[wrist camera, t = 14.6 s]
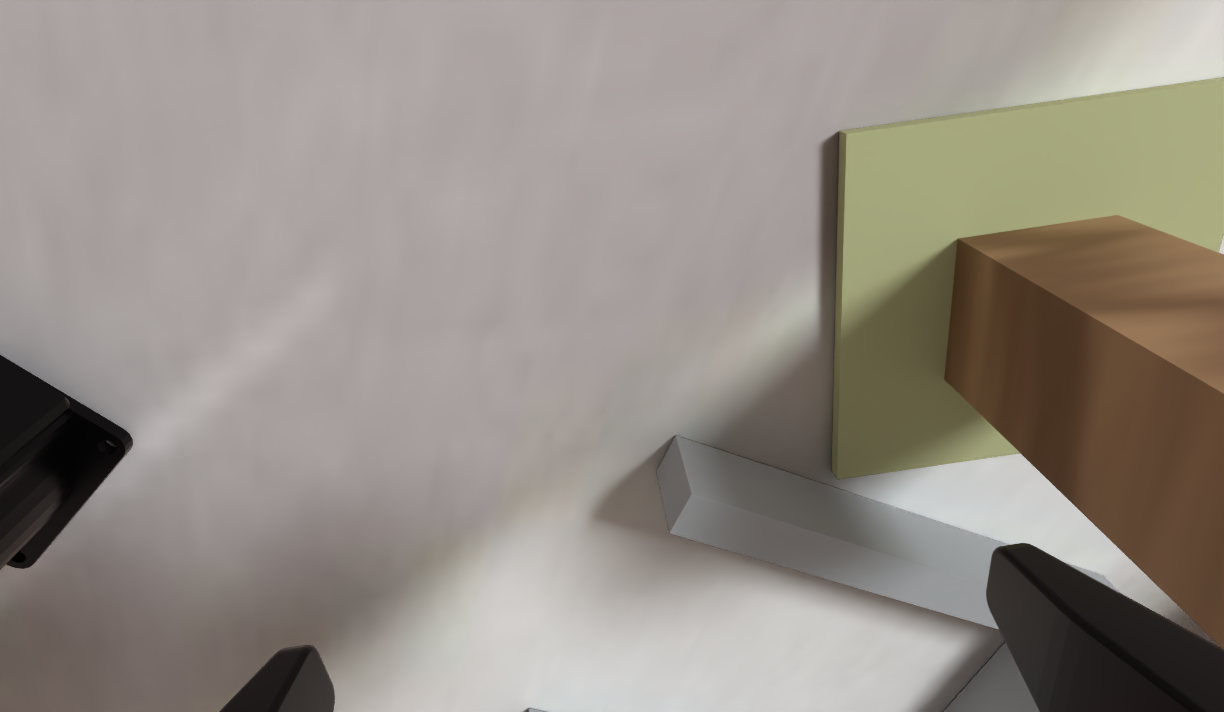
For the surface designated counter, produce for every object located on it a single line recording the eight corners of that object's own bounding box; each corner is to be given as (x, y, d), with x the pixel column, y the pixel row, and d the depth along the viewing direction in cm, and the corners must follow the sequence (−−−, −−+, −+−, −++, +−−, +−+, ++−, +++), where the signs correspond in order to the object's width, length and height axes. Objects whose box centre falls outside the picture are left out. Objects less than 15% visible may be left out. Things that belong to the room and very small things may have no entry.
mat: (831, 470, 23) (836, 479, 23) (839, 130, 18) (846, 133, 18) (1156, 423, 24) (1168, 432, 23) (1251, 73, 19) (1268, 74, 18)
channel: (516, 732, 28) (512, 808, 26) (675, 435, 22) (692, 493, 20) (888, 809, 32) (918, 882, 30) (1103, 575, 27) (1164, 639, 24)
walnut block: (944, 379, 22) (1326, 749, 11) (957, 238, 20) (1444, 522, 9) (1088, 357, 22) (1612, 705, 11) (1117, 215, 20) (1796, 469, 9)
